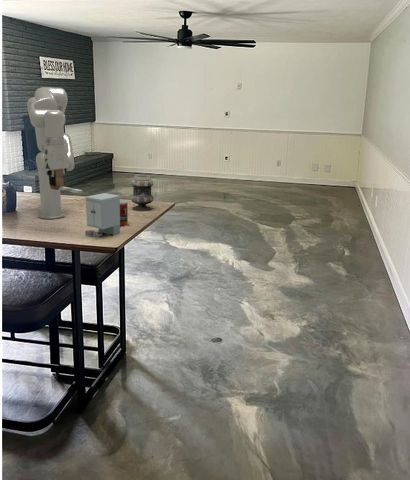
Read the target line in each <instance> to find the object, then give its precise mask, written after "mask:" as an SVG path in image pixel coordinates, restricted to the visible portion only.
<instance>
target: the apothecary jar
mask: <svg viewBox="0 0 410 480" xmlns="http://www.w3.org/2000/svg"><path fill="white" fill-rule="evenodd" d="M130 184H131V186H132V188H133V189H132V195H131V196H130V201H131V202H132V203H133V204H136V206H134V207H133V208H132V210H134V211H138V212H139V211H140V212H146V211H150V210H152V207H151V206H148V205H149V204H151V203H152V202H153V201H154V196H153V195H152V187H153V186H154V181H153V180H152V178H151V176H150V175H147V174H135V175H134V177H133V179H132V180H131V181H130Z"/></svg>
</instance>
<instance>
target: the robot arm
mask: <svg viewBox="0 0 410 480" xmlns="http://www.w3.org/2000/svg"><path fill="white" fill-rule="evenodd" d="M67 105H68V94H67V92H66V90H65V89H64V88H62V87H50V86H42V87H38V88H37V89H36V90H35V92H34V96H33V97H30V98H29V99H28V100H27V103H26V106H27V113H28V116H29V119H30V120H29V121H30V124H31V126H32V127H34V130H35V131H34V132H35V139H36V146H37V148H38V151H40V152H39V153H37V154H36V156H35V162H36V168H37V173H38V181H39V183H38V186H39V199H40V205H39V206H38V207H36V210H37V211H39V213H37V218H40V219H43V220H57V219H61V218H64V217H65V215H66V214H65V212H62V200H61V199H62V197H61V196H62V195H61V190H54V189H50V185H51V186H56V183H55V177H54V172H55V170H57V169H63V178H64V179H65V175H66V173H67V172H70V171H72V170H74V169H75V157H74V156H75V155H74V151H73V145H72V140H71V136H70V135H69V134H68V133H66V132H65V130H64V129H65V128H64V126H65V124H66V115H65V112H66V108H67ZM51 170H52V171H51Z"/></svg>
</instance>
